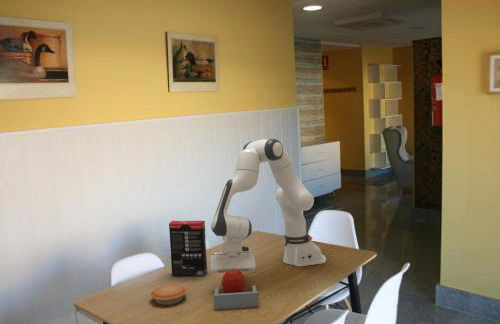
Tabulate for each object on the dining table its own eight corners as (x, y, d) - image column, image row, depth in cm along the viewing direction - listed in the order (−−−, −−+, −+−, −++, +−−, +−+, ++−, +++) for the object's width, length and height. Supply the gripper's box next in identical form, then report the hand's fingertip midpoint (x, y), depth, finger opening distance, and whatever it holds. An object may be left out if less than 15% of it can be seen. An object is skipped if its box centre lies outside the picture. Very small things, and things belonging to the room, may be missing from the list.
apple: (235, 291, 207) (234, 261, 205) (251, 298, 200) (249, 267, 198) (217, 299, 200) (215, 268, 198) (232, 306, 193) (231, 274, 191)
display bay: (255, 291, 206) (255, 278, 205) (258, 306, 191) (257, 292, 190) (215, 294, 205) (214, 281, 204) (214, 309, 190) (213, 295, 189)
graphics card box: (208, 271, 234) (205, 219, 231) (205, 276, 227) (202, 222, 224) (175, 272, 236) (171, 219, 232) (171, 277, 229) (167, 223, 225)
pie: (171, 290, 213) (170, 279, 212) (194, 297, 203) (193, 286, 203) (143, 301, 201) (142, 290, 201) (167, 310, 191) (166, 299, 191)
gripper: (209, 250, 210) (209, 278, 202) (254, 247, 211) (256, 276, 202) (210, 256, 215) (210, 284, 207) (254, 254, 216) (256, 282, 207)
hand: (233, 280), depth 205 cm, fingers closed, pressing on apple
